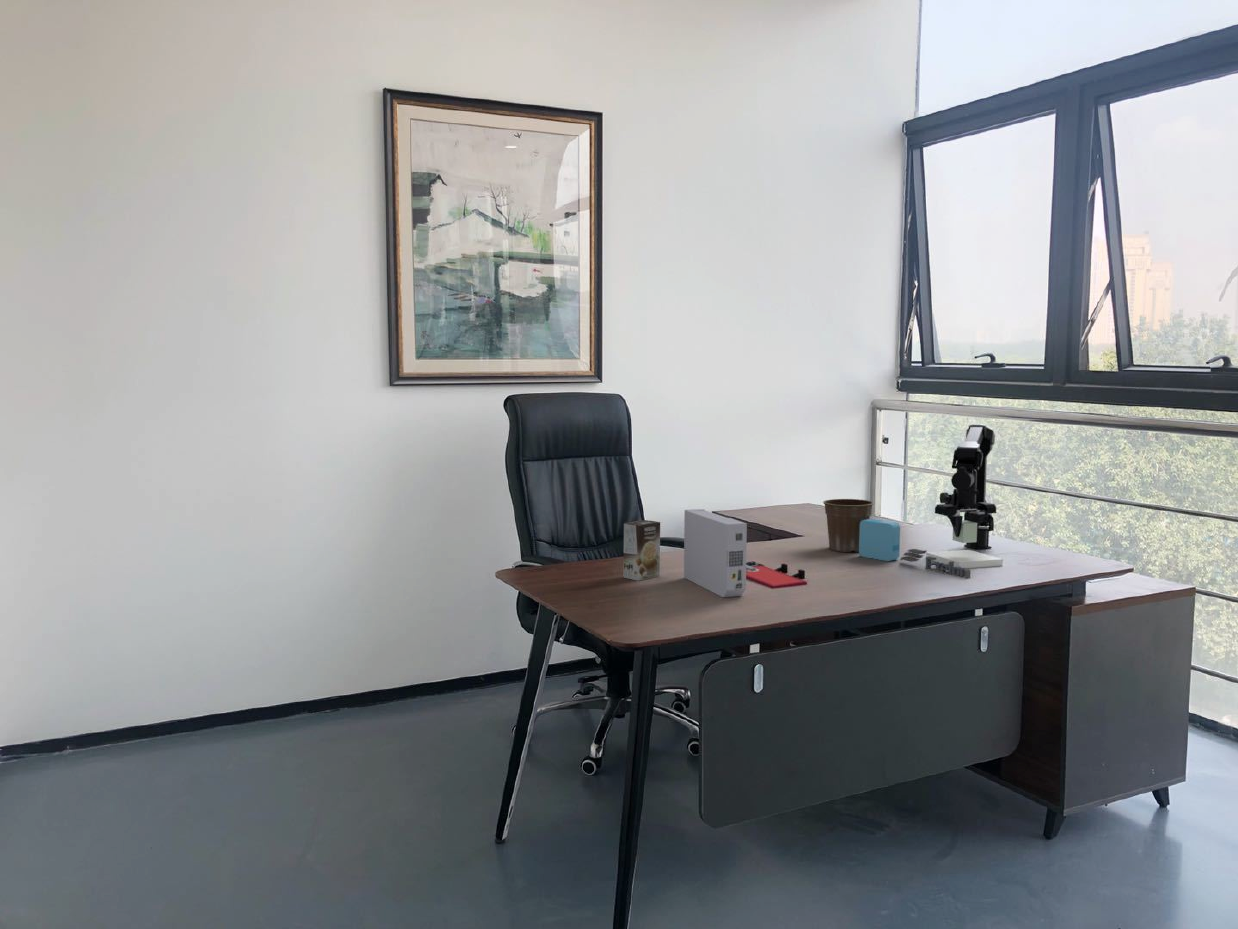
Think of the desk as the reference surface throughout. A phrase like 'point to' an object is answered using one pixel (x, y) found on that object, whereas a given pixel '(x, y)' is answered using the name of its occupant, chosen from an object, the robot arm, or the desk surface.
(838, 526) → the plant pot
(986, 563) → the base plate
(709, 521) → the game console
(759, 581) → the red board with handle
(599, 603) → the desk surface
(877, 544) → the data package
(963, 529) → the sage block
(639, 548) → the coffee box
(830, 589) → the desk surface
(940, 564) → the extruded letter logo
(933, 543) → the desk surface
